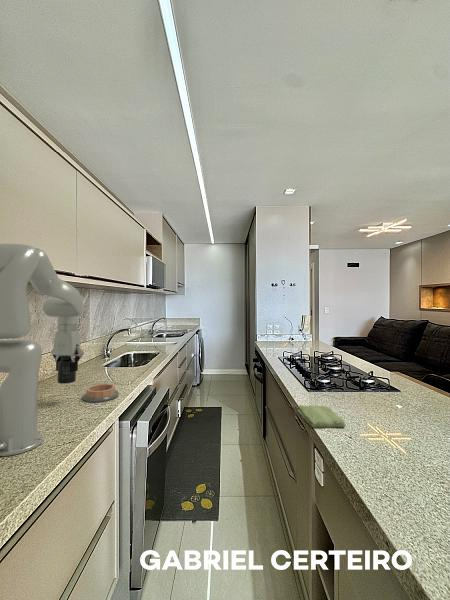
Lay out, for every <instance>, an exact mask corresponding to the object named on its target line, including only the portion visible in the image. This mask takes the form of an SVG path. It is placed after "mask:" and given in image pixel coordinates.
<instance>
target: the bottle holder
mask: <svg viewBox="0 0 450 600" xmlns="http://www.w3.org/2000/svg"><path fill="white" fill-rule="evenodd" d="M119 393H120V392H119V391H118V390H116V385H115V384H111V383H100V384H95V385H91V386H89V387H87V388H86V389H85V393H84V394H83V395H82V401H83V402H85V403H90V404H91V403H92V404H97V403H99V404H100V403H105V402H109V401H113V400H115V399H117V398H118V397H119Z"/></svg>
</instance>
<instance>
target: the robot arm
mask: <svg viewBox="0 0 450 600" xmlns="http://www.w3.org/2000/svg"><path fill="white" fill-rule="evenodd" d="M29 283H30V284H31V286H32V288H33V289H34V290H35V291H36V292H38V293H40V294H42V295H45V296H48V297H51V298H48V299H46V300H45V301H44V302H43V303H42V311H43V313H44V314H45V315H46V316H47V317H51V318H52V317H53V318H57V326H56V329H57V331H55V333H54V334H55V335H54V339H53V347H52V348H53V349H52V350H50V353H51V355H52V356H53V359H54V361H55V371H56V372H58V362H59V361H60V360H61V358H60V357H61V356H70V357H71V359H72V362H71V372H74V371H76V372H77V371H78V370H79V361H80V360H81V359H82V357H83V355H84V354H85V352H84V351H83V349H82V348H81V339H80V333H79V329H78V327H79V317H80V316H82V315H83V314H84V310H85V303H84V299H83V298H82V296H81V293H80V291H78V289H77V288H76V287H75V286H73V285H71V284H70V283H68V282H67V281H65V280H62V279H61V278H59V276H58V274H57V272H56V270H55V268H54V266H53V264H52V262H51V261H50V258H49V255H47V253H46V252H45V251H44V250H43V249H40V248H38V247H34V246H31V245H28V244H22V243H0V374H1V373H3V374H6V373H7V374H8V375H7V376H6V378H5V379H4V380H3V381H2V383H1V385H0V457H9V456H14V455H19V454H23V453H26V452H29V451H31V450H33V449H35V448H37V447H38V446H40V445H41V444H42V443H43V442H44V435H43V434H42V433H41V432H38V415H39V414H38V413H39V411H38V409H39V408H38V405H39V404H38V403H39V401H38V400H39V398H38V395H39V391H38V390H39V386H38V385H39V371H40V366H41V362H42V356H43V350H42V346H41V345H40V344H39V343H38V342H36V341H34V340H28V339H19V338H23V337H26V336H27V335H28V334H29V333H30V332H31V327H32V324H31V323H32V321H31V315H30V309H29V303H28V302H29V301H28V296H27V295H28V294H27V287H28V284H29Z"/></svg>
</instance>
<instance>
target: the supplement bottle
mask: <svg viewBox="0 0 450 600" xmlns="http://www.w3.org/2000/svg"><path fill="white" fill-rule="evenodd" d="M60 358H61V360H60V361H59V362H58V371H57V379H56V380H57V383H58V384H63V385H65V384H72V383H74V382H76V380H77V371H74V372H71V362H72V359H71V357H70V356H61V357H60Z"/></svg>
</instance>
